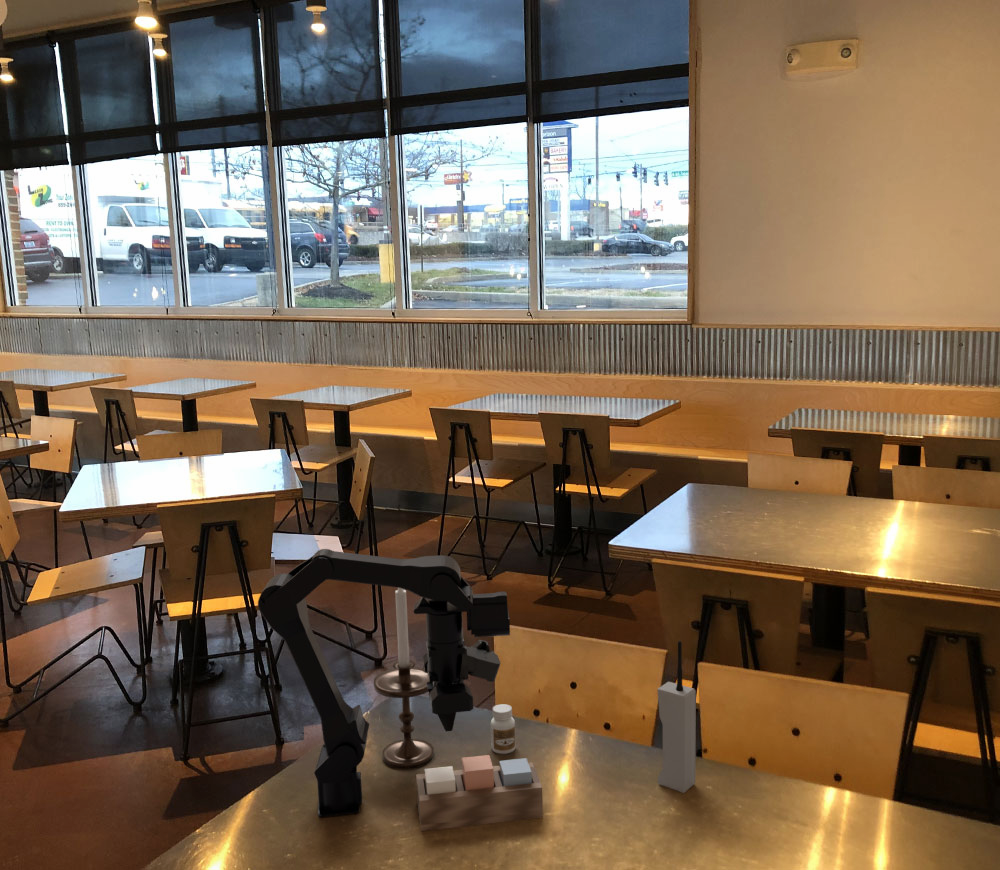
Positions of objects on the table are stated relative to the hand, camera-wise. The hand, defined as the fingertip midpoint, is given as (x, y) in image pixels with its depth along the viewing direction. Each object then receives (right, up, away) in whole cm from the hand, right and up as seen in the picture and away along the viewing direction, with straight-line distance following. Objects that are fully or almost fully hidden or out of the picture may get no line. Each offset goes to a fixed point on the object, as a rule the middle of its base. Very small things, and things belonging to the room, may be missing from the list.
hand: (448, 730), depth 150 cm
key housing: (+5, -12, -1) cm, 13 cm away
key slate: (+11, -9, -1) cm, 14 cm away
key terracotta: (+5, -8, -2) cm, 10 cm away
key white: (-1, -10, -3) cm, 10 cm away
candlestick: (-8, -10, +17) cm, 21 cm away
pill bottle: (+9, -9, +18) cm, 22 cm away
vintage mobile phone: (+37, -11, +4) cm, 39 cm away
